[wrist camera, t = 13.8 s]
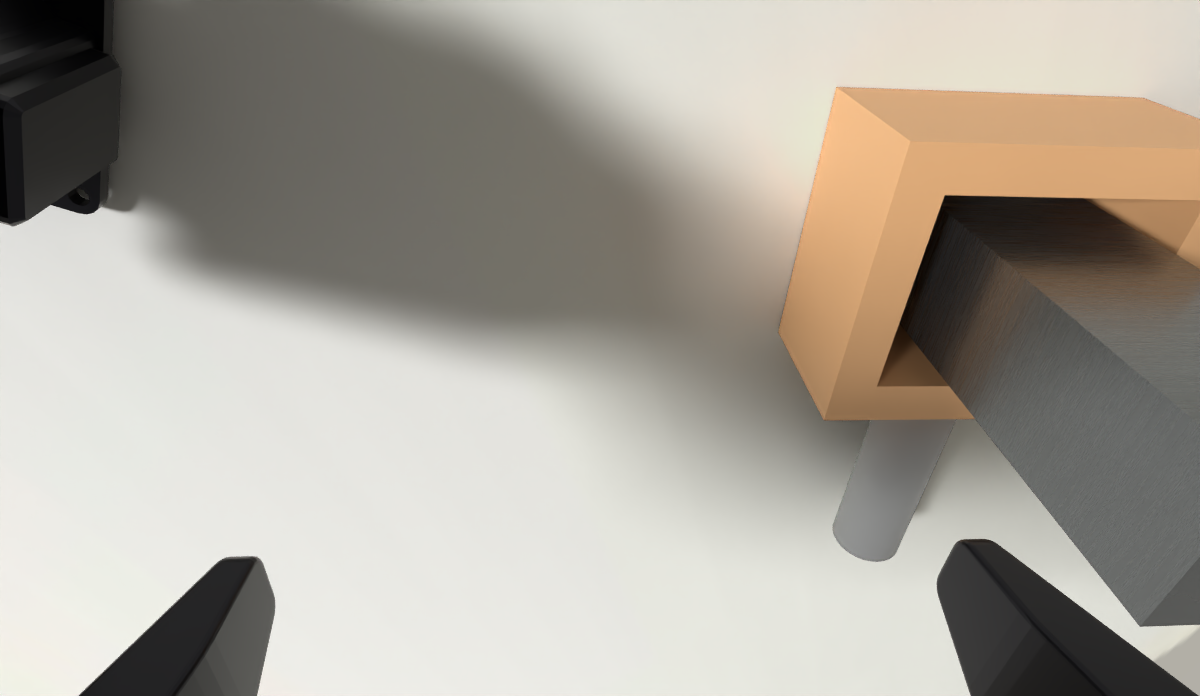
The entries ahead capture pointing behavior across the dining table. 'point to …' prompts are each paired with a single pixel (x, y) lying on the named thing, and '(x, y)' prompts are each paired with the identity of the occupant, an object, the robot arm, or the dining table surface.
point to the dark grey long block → (1078, 378)
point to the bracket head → (901, 233)
